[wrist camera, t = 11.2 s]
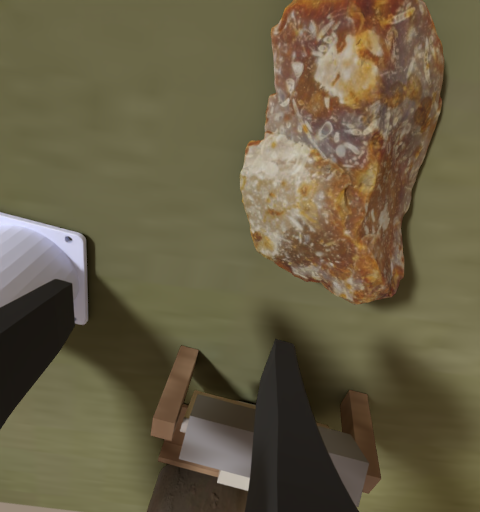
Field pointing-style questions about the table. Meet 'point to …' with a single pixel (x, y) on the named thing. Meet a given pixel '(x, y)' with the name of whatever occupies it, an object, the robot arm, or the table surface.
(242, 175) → the decorative stone
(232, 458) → the trapdoor
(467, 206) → the table surface
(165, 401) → the frame
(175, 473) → the pillar candle
